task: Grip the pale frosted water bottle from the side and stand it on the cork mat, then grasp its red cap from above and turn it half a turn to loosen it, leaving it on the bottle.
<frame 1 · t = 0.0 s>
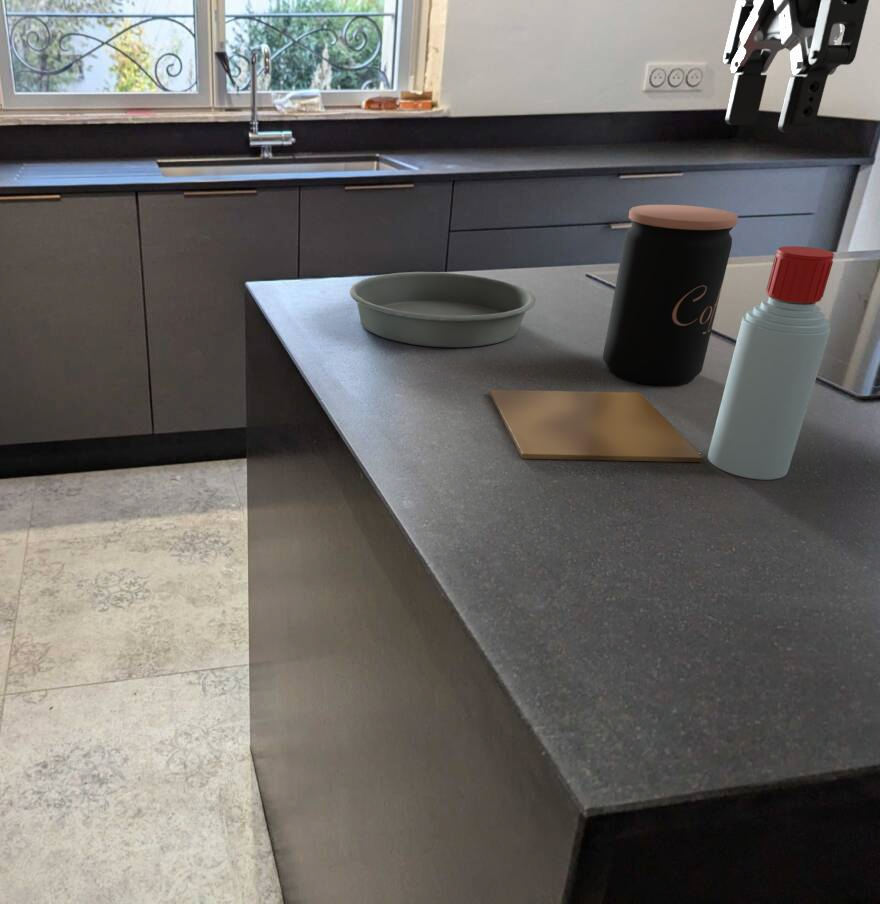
hand: (765, 128, 63), 28 cm above the counter, tool pointing down, fingers open, 8 cm apart
mat: (585, 425, 81), on the counter
coffee jar: (649, 373, 95), on the counter
cap: (804, 255, 66), point 19 cm above the counter, screwed on, not yet turned
bottle: (747, 463, 74), on the counter
cake pan: (438, 325, 112), on the counter
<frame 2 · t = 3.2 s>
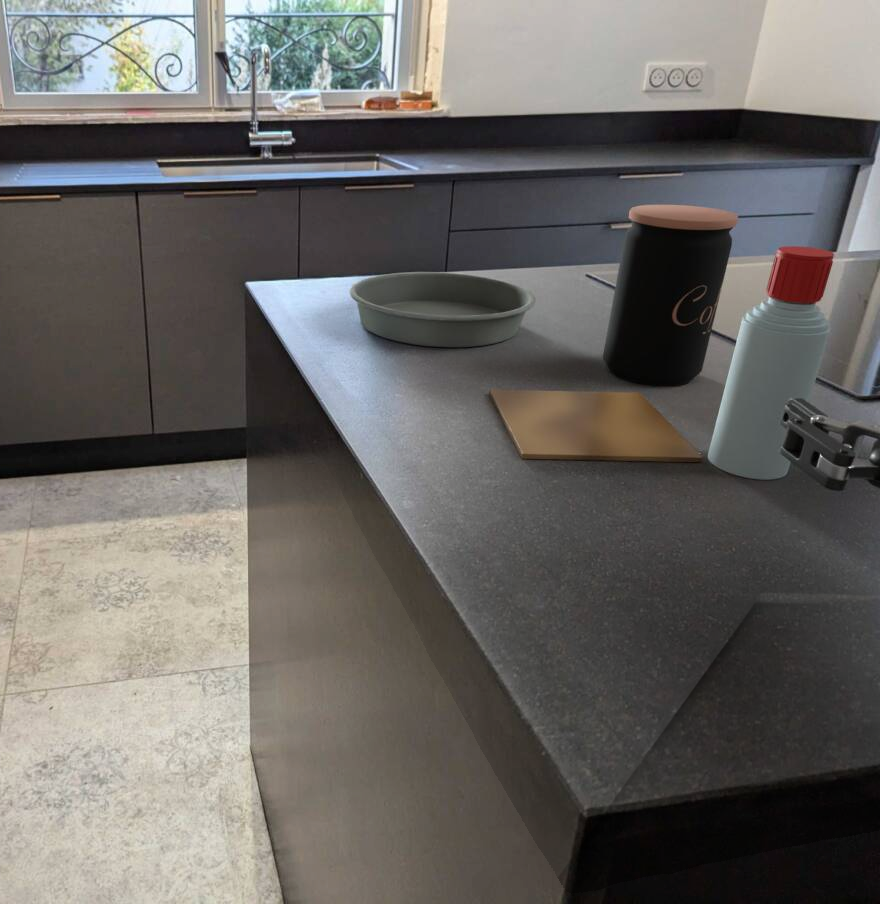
hand: (850, 411, 60), 10 cm above the counter, tool horizontal, fingers open, 8 cm apart
nothing on the counter moved.
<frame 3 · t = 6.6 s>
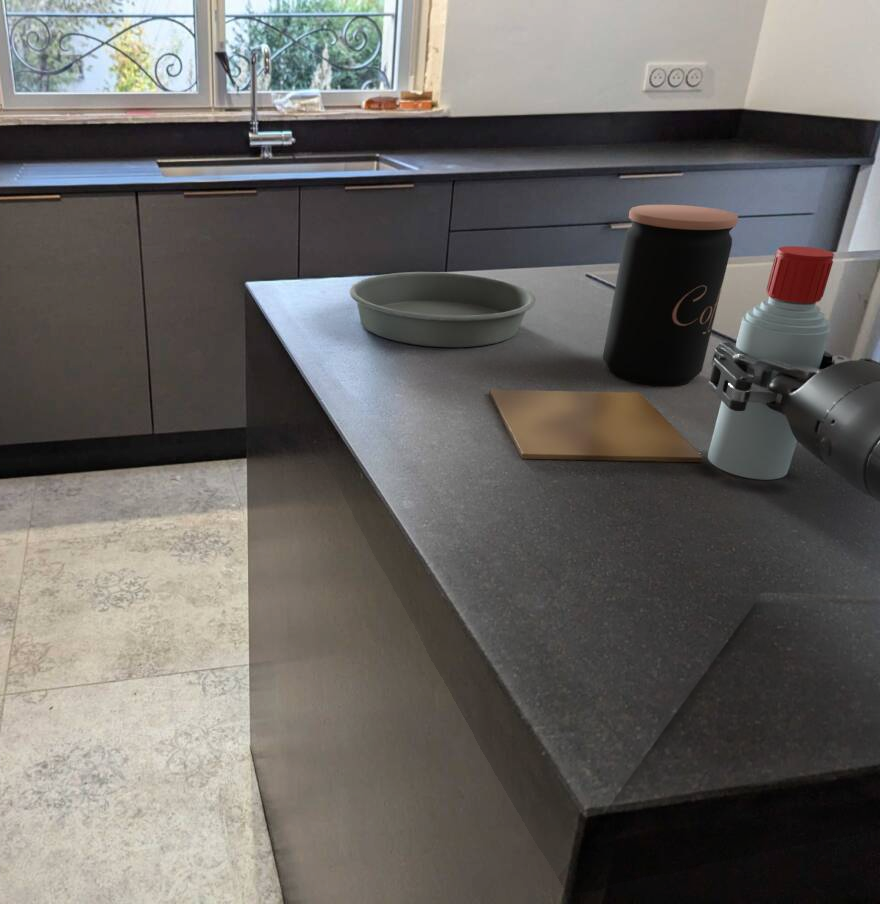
hand: (761, 354, 72), 10 cm above the counter, tool horizontal, fingers closed on bottle, 6 cm apart
bottle: (747, 463, 74), on the counter, touching gripper
everything else where it was.
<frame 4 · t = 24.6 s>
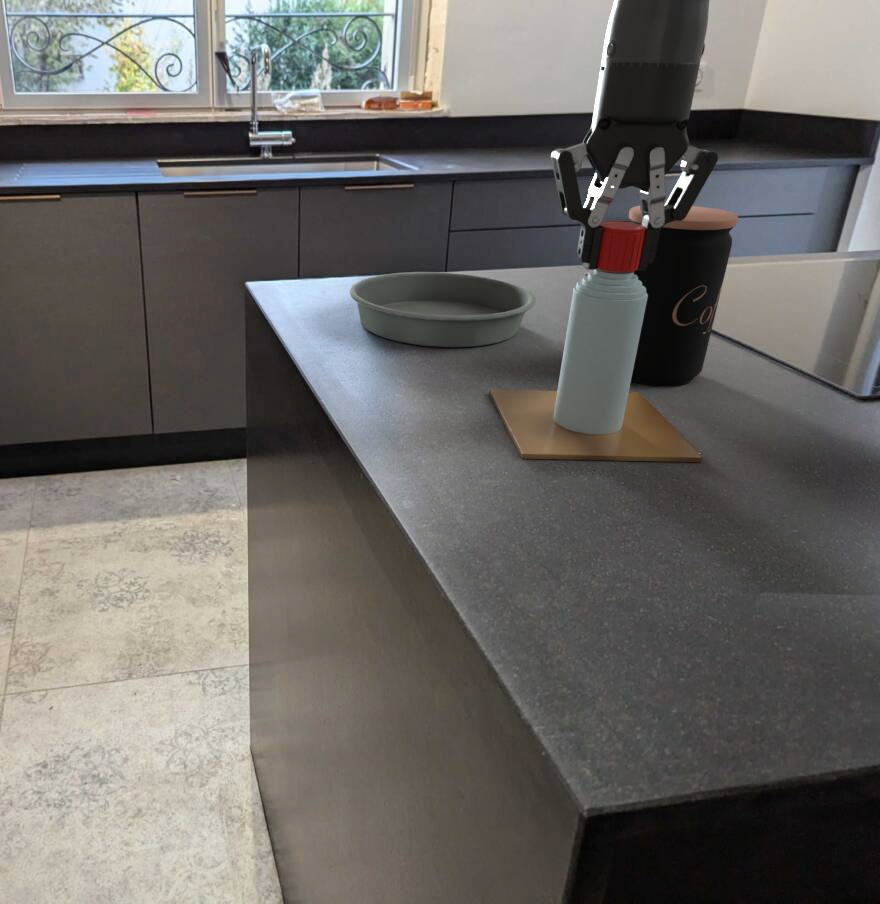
hand: (613, 267, 75), 16 cm above the counter, tool pointing down, fingers closed on cap, 4 cm apart
cap: (621, 229, 73), point 19 cm above the counter, screwed on, not yet turned, touching gripper
bottle: (587, 421, 81), point 1 cm above the counter, touching mat
everything else where it was.
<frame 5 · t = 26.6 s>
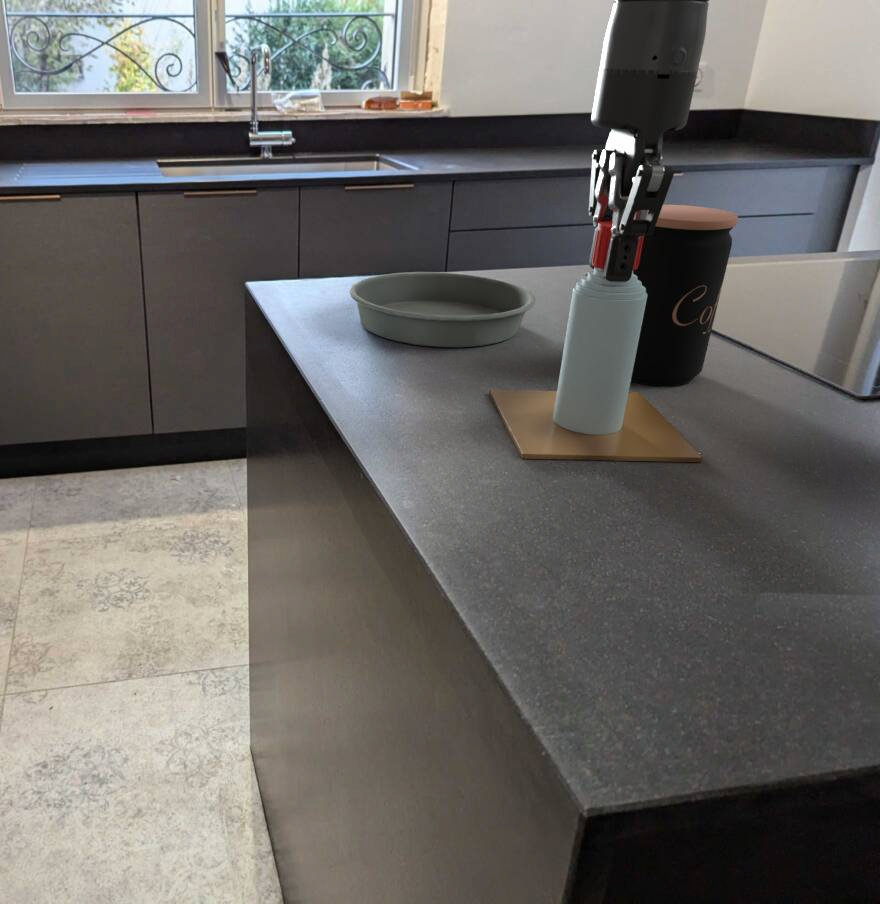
hand: (608, 273, 75), 15 cm above the counter, tool pointing down, fingers closed on cap, 3 cm apart
cap: (621, 227, 73), point 19 cm above the counter, turned 89° so far, risen 0.1 cm, still on its thread, touching gripper
bottle: (586, 421, 81), point 1 cm above the counter, touching gripper, mat
everything else where it was.
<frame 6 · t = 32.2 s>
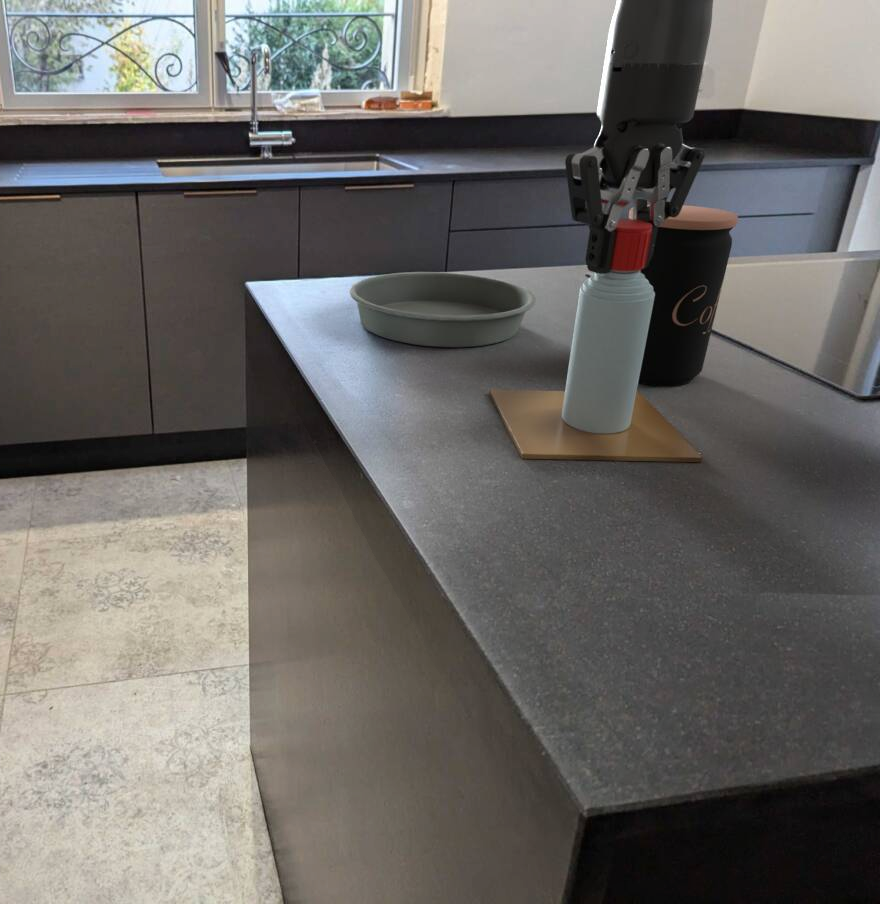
hand: (617, 268, 74), 16 cm above the counter, tool pointing down, fingers closed on cap, 4 cm apart
cap: (627, 227, 72), point 19 cm above the counter, turned 115° so far, risen 0.1 cm, still on its thread, touching gripper
bottle: (595, 419, 81), point 1 cm above the counter, touching mat
everything else where it was.
when the fingers open (16 cm above the counter, at t = 33.3 s): cap stays where it is, point 19 cm above the counter.
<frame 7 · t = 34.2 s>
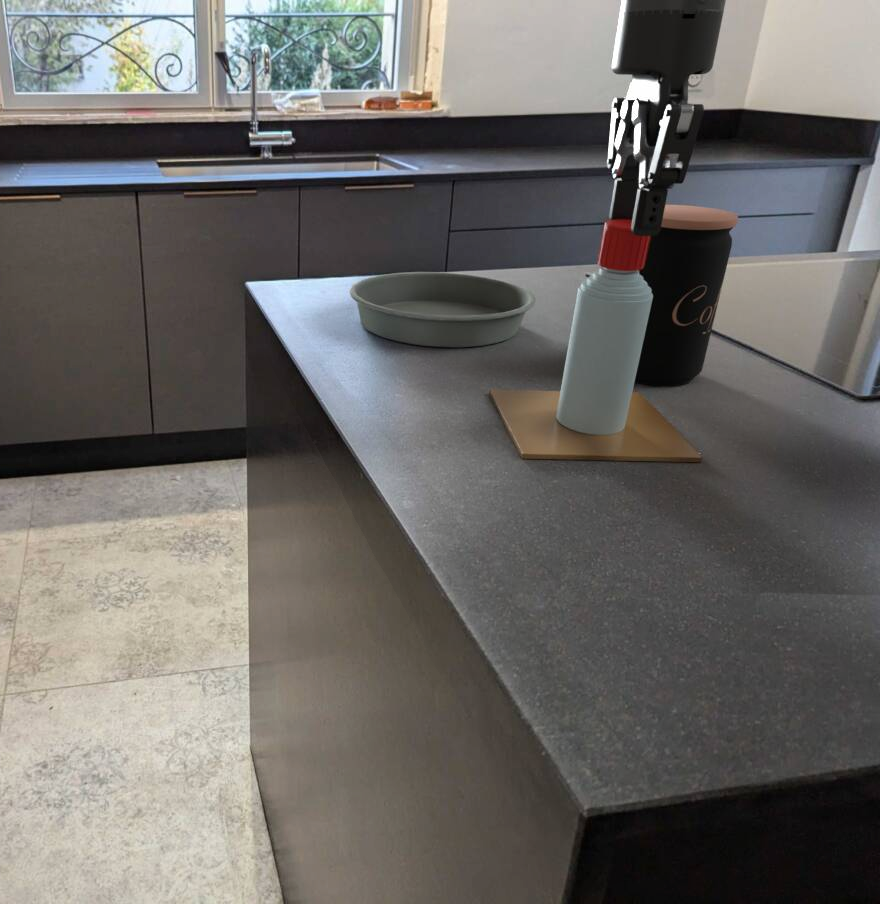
hand: (633, 227, 72), 19 cm above the counter, tool pointing down
cap: (627, 227, 72), point 19 cm above the counter, turned 173° so far, risen 0.2 cm, still on its thread, touching gripper
everything else where it was.
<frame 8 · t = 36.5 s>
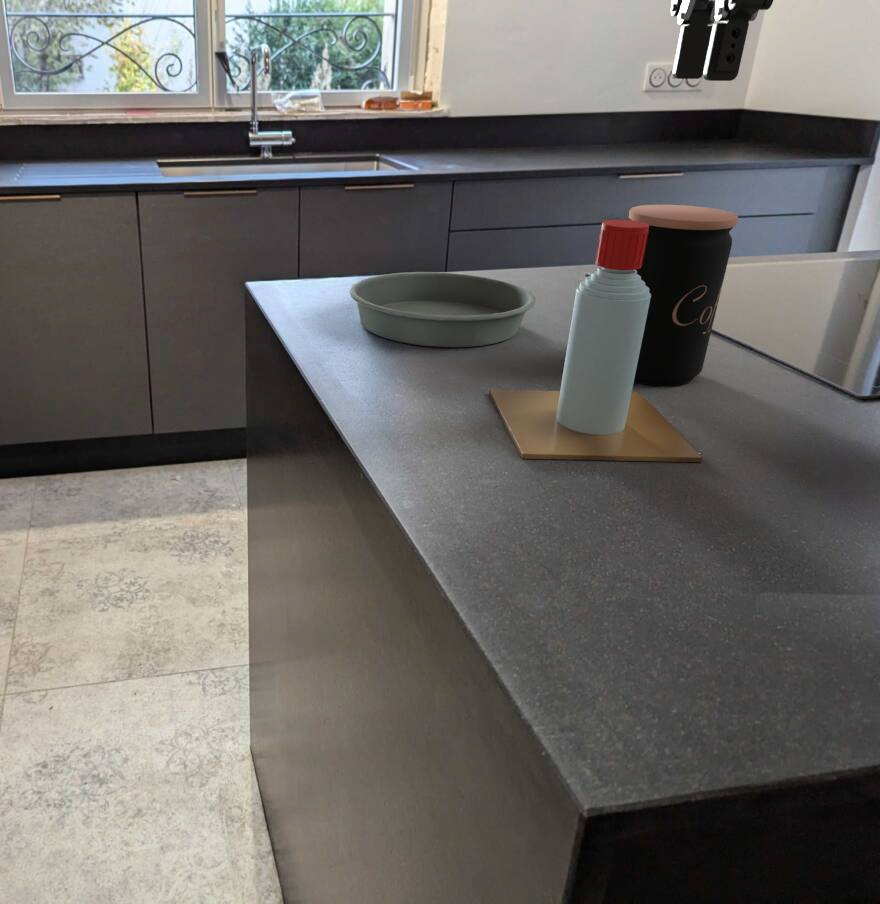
hand: (702, 78, 62), 31 cm above the counter, tool pointing down, fingers open, 5 cm apart
cap: (625, 227, 73), point 19 cm above the counter, turned 173° so far, risen 0.2 cm, still on its thread
everything else where it was.
at the end: cap turned 0.48 turns (still on its thread); cap is still on its thread (0.48 turns); bottle inside the target area on the mat (0.4 cm from its centre), point 0.5 cm above the mat's base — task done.
